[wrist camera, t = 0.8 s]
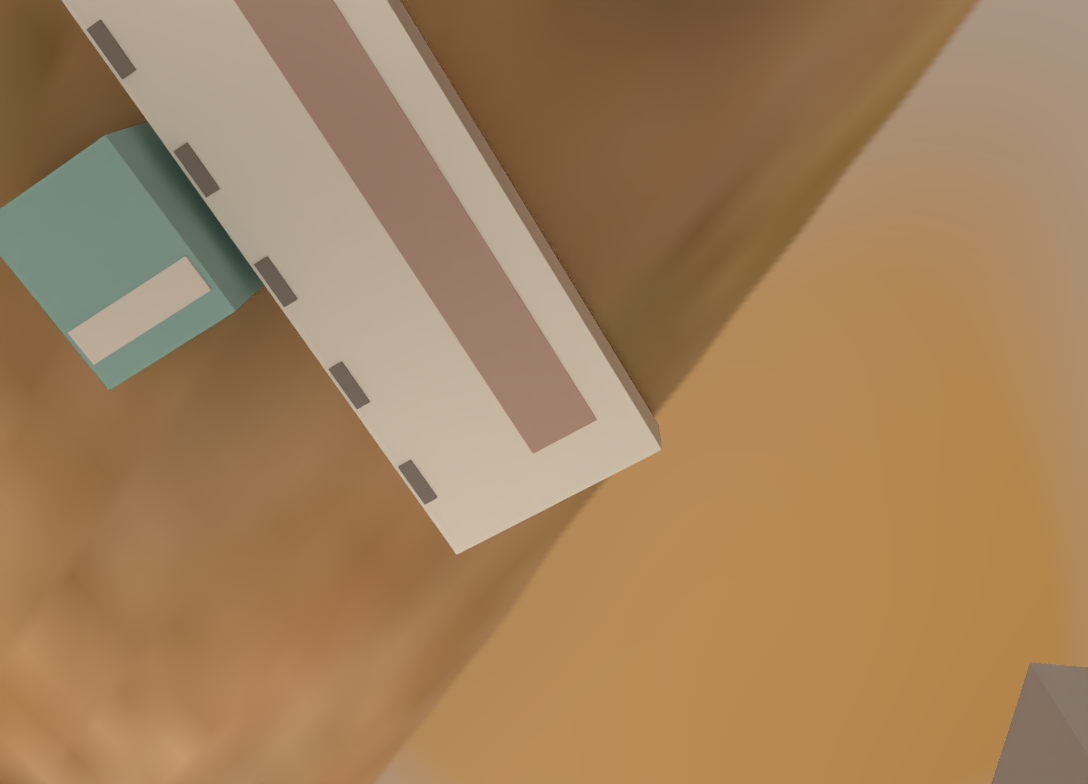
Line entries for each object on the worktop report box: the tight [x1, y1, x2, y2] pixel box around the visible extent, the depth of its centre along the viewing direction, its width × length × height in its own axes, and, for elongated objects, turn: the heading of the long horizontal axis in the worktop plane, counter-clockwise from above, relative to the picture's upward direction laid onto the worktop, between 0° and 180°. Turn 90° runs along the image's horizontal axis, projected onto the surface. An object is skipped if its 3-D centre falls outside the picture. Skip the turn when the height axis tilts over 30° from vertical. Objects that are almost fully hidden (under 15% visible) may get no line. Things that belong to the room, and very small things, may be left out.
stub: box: [0, 122, 264, 390], centre depth 32 cm, size 6×5×4 cm
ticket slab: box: [62, 0, 662, 555], centre depth 32 cm, size 22×8×2 cm, turn 31°
